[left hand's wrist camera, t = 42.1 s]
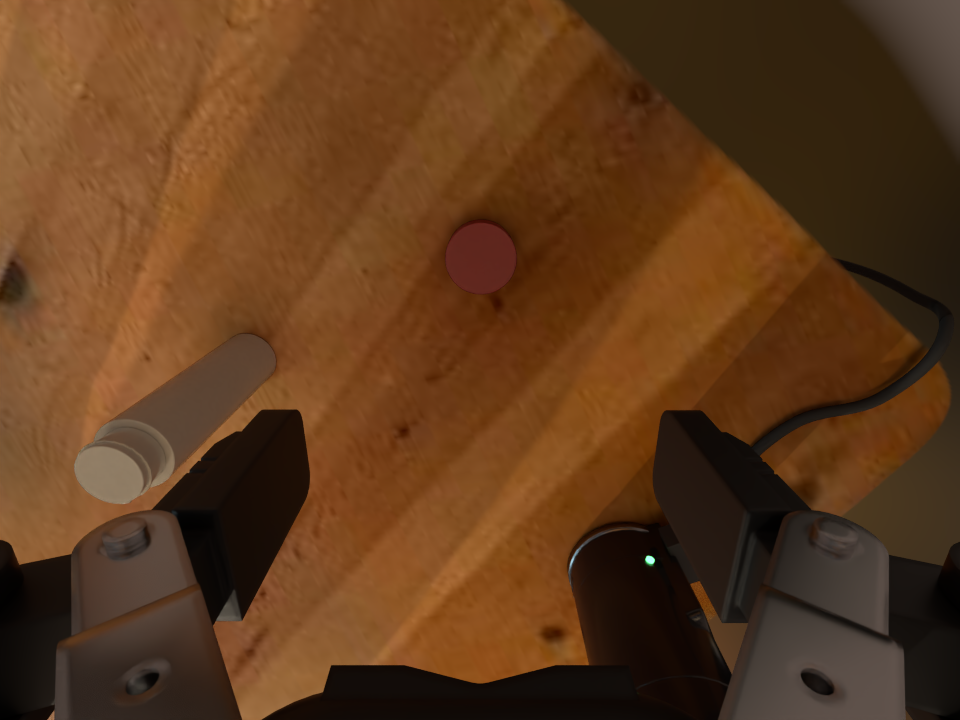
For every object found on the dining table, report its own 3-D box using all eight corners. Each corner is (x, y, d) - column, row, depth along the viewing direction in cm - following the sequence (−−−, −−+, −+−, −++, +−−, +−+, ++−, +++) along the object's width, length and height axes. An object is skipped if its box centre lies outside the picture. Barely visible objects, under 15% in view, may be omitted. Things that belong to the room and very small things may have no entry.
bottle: (214, 338, 38) (49, 445, 23) (266, 329, 38) (131, 432, 23) (233, 386, 39) (87, 516, 25) (283, 378, 39) (165, 504, 25)
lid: (433, 249, 36) (430, 254, 34) (485, 204, 35) (485, 206, 33) (476, 300, 37) (476, 308, 35) (528, 258, 36) (531, 263, 34)
